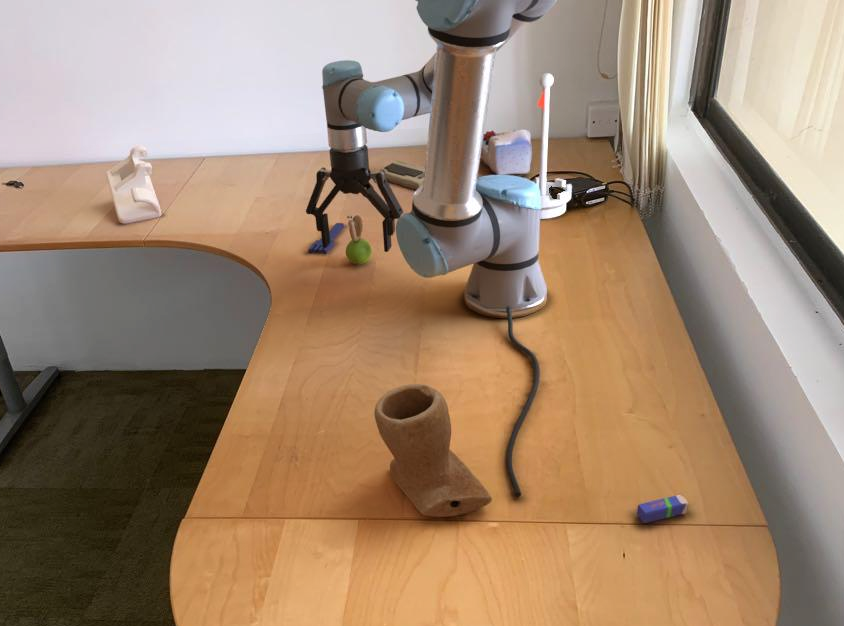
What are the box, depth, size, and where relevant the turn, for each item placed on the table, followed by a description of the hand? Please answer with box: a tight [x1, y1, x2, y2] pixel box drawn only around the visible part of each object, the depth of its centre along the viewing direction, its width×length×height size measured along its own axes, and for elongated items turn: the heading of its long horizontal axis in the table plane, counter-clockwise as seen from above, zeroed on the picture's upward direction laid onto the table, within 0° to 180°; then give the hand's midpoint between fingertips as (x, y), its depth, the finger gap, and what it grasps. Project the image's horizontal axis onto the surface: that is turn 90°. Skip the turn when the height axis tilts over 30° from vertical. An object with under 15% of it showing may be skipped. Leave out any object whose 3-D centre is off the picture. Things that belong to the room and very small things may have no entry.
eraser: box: [636, 494, 689, 524], centre depth 107 cm, size 2×6×2 cm, turn 103°
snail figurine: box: [345, 215, 372, 265], centre depth 175 cm, size 5×6×12 cm
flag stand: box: [533, 72, 573, 220], centre depth 185 cm, size 13×13×30 cm
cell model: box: [480, 129, 533, 175], centre depth 216 cm, size 13×11×20 cm
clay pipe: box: [373, 383, 493, 518], centre depth 111 cm, size 15×12×15 cm
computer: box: [377, 160, 425, 190], centre depth 216 cm, size 16×8×3 cm, turn 40°
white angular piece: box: [105, 145, 163, 225], centre depth 215 cm, size 20×11×13 cm, turn 19°
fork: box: [307, 222, 345, 255], centre depth 190 cm, size 15×4×1 cm, turn 161°
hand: (356, 247), depth 176 cm, fingers open, 13 cm apart
